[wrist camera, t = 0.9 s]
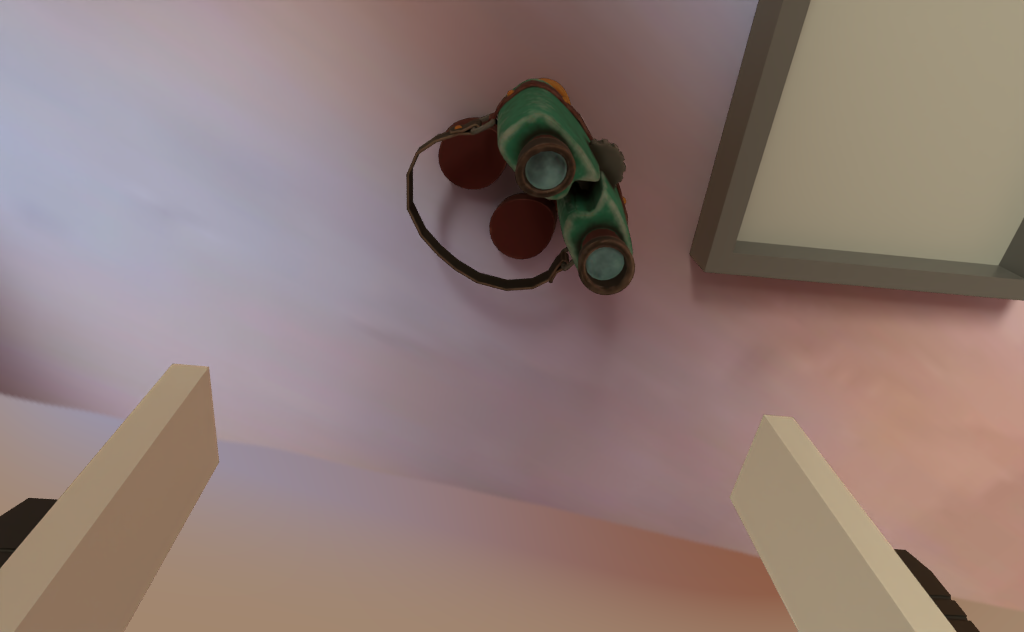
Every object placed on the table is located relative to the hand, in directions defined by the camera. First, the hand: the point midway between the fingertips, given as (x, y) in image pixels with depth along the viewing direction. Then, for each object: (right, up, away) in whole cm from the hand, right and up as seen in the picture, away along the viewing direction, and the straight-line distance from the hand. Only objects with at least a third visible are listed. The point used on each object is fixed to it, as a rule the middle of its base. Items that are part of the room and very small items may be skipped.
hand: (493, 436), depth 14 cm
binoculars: (+1, +10, +17) cm, 20 cm away
